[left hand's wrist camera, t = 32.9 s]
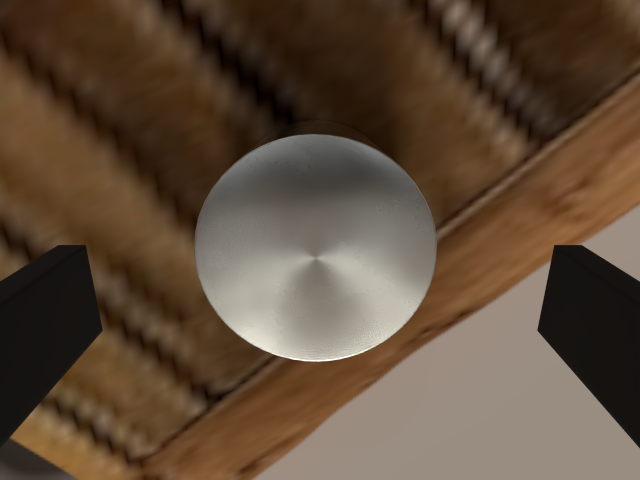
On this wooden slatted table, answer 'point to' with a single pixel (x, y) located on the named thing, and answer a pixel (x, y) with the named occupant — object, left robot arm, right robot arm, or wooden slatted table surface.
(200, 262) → the tin
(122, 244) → the wooden slatted table surface
